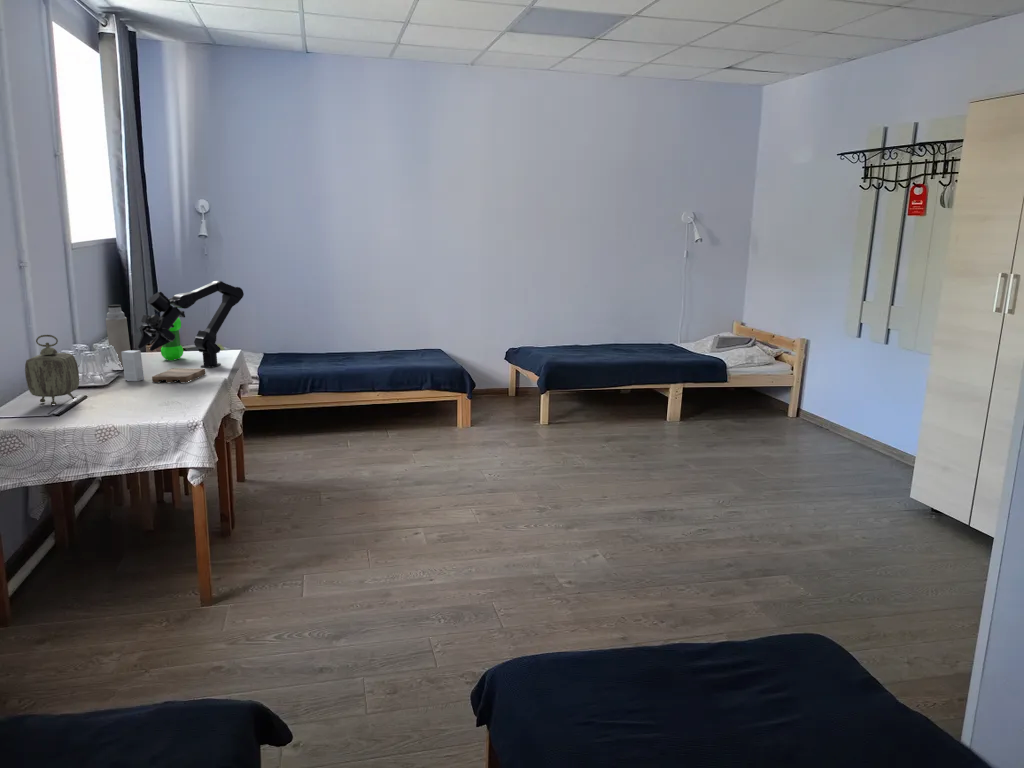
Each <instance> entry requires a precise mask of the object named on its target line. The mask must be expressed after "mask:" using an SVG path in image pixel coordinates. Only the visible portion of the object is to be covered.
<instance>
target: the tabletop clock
mask: <svg viewBox="0 0 1024 768" xmlns="http://www.w3.org/2000/svg"><path fill="white" fill-rule="evenodd" d="M46 337H49V338H52V339H54V340H55V342H54V343H52V344H50V342H46V343H45V344H40V343H39V342H38V340H39V339H41V338H46ZM58 342H59V340H58V338H57V337H56V336H55V335H52V334H41V335H39V336H38V337H36V339H35V343H36V344H37V345H38V346H40V347H44V348H42V349H41V351H40V354H38V355H35V356H33V357H31V358H28V359H26V360H25V364H24V372H25V374H24V375H25V381H26V384H27V388H28V391H29V392H30V394H31V395H32V396H35V397H40V399H39V402H40V403H41V402H44V403H45V402H46V399H45V398H46V397H48V398H50V397H51V402H50V405H51V406H52V404H56V405H57V402H56V401H55V397H62V396H67V395H68V396H69V397H70V398H72V399H74V398H77V397H76V396H74V395H73V394H72V392H74V391H76V390H77V389H78V388H79V386H80V385H79V384H80V371H79V366H78V363H77V360H76V358H75V356H74V355H73V354H71V353H67V352H58V351H57V350H56V349H55V348H54V346H56V345H57V344H58Z"/></svg>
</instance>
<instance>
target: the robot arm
mask: <svg viewBox="0 0 1024 768" xmlns="http://www.w3.org/2000/svg"><path fill="white" fill-rule="evenodd" d="M216 292H218V293H220V294H222V296H221V298H222V299H221V303H220V304H219V306H218V308H217V309H216V311H215V313H214V315H213V317H212V319H210V321H209V323H208V325H207V326H206V328H205V329H204V330H200V329H199V330H198V332H197V334H196V335H195V336H194V337H193V338H194V341H193V343H194V346H195V348H196V349H197V350H198V352H199V353H202V359H203V361H202V362H203V364H202V365H200V368H215V367H218V366H220V365H222V363H221V362H219V363H218V355H217V354H219V353H221V352H220V351H221V346H219V345H218V344H216V342H217V334H218V333H219V331H220V329H221V327H222V325H223V324H224V323H225V320H226V319H227V316H228V315H229V313H230V312H231V310H232V309H233V307H234V306H236V305H237V304H239V302H240V301H242V299H243V298H244V294H245V293H244V290H243V289H242V288H241V287H240V286H234V285H231V284H228V283H226V282H224V281H222V280H213V281H212V282H209V283H208V284H205V285H203V286H201V287H198V288H196V289H194V290H192V291H187V292H181V293H176V294H174V295H173V296H172V297H170V298H169V297H167V296H166V295H165V294H164V293H163V292H162V291H157V292H156V293H154V294H153V295H152V296H150V297H149V299H148V300H147V304H149V306H151V307H152V308H153V309H154V310H156V311H157V312H158V313H162V314H161V315H160V316H159V315H157V314H152V315H149V314H142V317H141V321H140V323H142V325H140V327H138V329H139V332H140V335H141V337H140V339H139V343H138V346H137V348H138V349H142V348H145V346H146V345H148V344H149V343H151V342H152V341H153V340H154V341H153V343H152V344H151V345H150V347H149V351H151V352H153V351H155V350H157V349H159V348H160V347H161V348H162V345H165V344H167V343H170V341H173V340H174V339H175V334H173V333H172V332H171V331H170V330H169V329H170V328H173V327H174V325H173V324H174V323H175V321H176V320H177V319H178V318H184V319H185V318H186V313H185V311H184V310H180V309H185V310H186V309H189V308H191V307H192V306H193V305H194V304H195V303H196V302H197V301H199V300H201V299H203V298H206V297H207V296H210V295H212V294H215V293H216ZM143 323H144V324H143Z"/></svg>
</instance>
